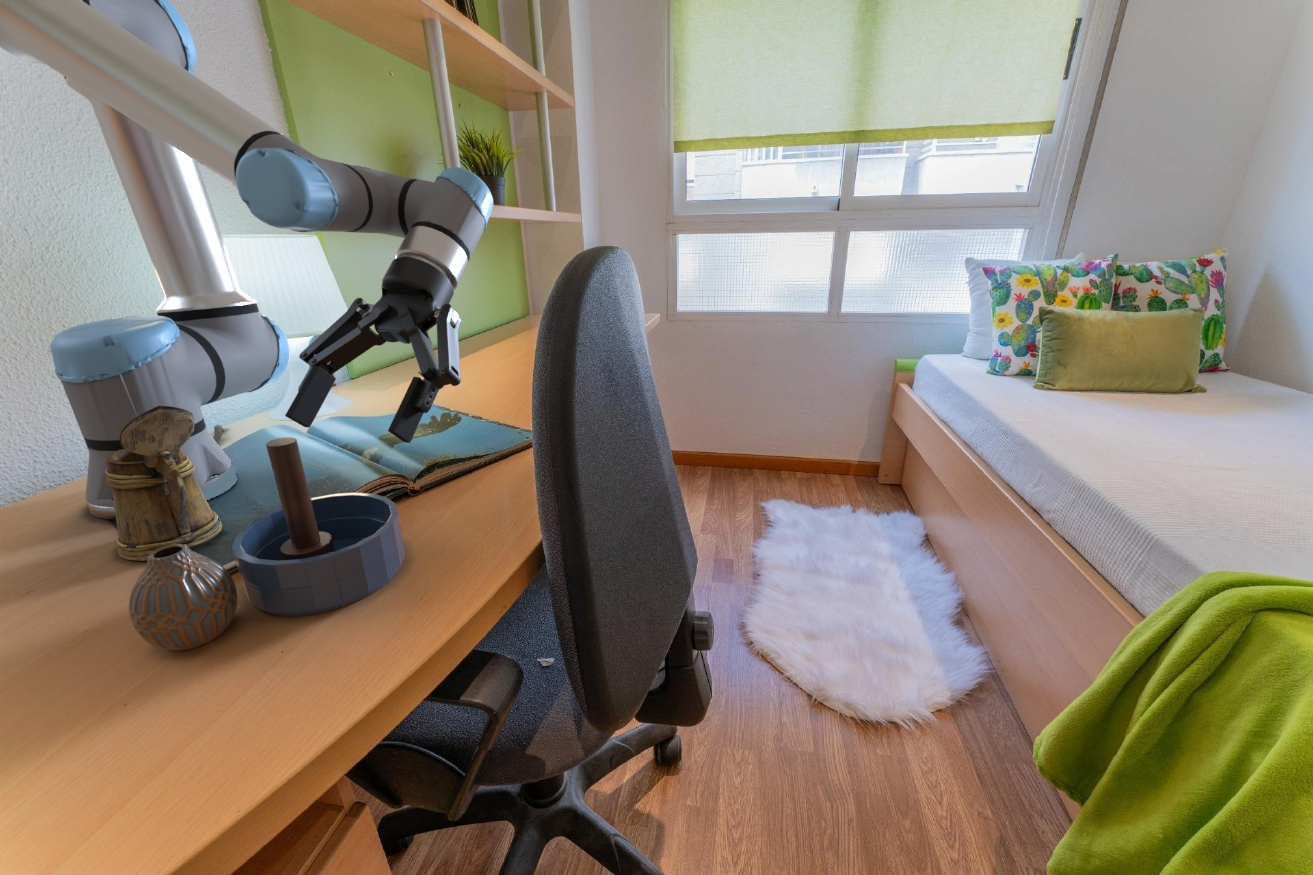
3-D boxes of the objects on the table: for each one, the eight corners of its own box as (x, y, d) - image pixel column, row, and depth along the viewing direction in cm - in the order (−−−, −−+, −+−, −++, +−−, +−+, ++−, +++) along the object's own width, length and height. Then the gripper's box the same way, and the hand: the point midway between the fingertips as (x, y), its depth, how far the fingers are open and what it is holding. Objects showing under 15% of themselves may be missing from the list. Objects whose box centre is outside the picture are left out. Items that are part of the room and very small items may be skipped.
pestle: (283, 576, 54) (246, 442, 49) (329, 558, 57) (299, 430, 52) (298, 594, 51) (261, 454, 46) (346, 573, 55) (316, 441, 49)
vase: (263, 610, 50) (239, 530, 47) (203, 664, 43) (170, 576, 40) (193, 607, 50) (164, 528, 47) (122, 662, 43) (83, 574, 40)
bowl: (233, 573, 55) (217, 524, 53) (375, 524, 65) (367, 481, 63) (270, 641, 46) (253, 584, 44) (428, 572, 56) (421, 523, 54)
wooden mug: (158, 584, 53) (95, 418, 47) (106, 547, 59) (44, 395, 53) (255, 544, 60) (213, 395, 54) (200, 514, 67) (156, 378, 60)
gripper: (527, 301, 64) (464, 458, 55) (363, 291, 70) (285, 430, 62) (500, 256, 57) (423, 427, 49) (321, 250, 64) (228, 399, 55)
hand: (346, 429), depth 55 cm, fingers open, 13 cm apart
